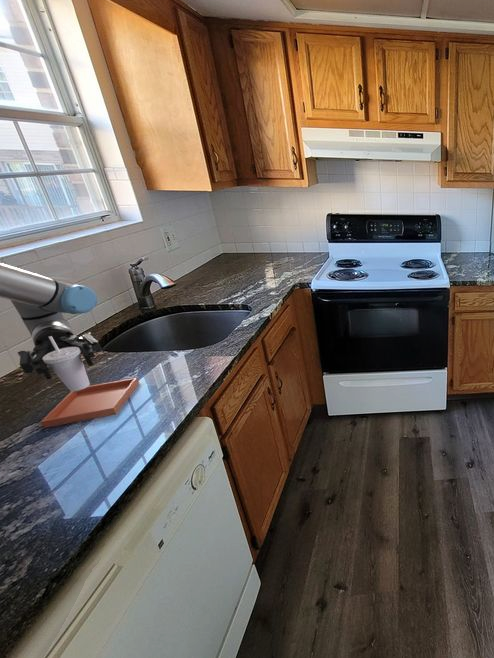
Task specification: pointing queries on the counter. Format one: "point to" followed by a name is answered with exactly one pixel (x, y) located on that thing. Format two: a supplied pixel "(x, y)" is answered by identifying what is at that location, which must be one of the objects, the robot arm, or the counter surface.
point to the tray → (91, 402)
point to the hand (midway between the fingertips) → (68, 367)
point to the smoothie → (68, 366)
